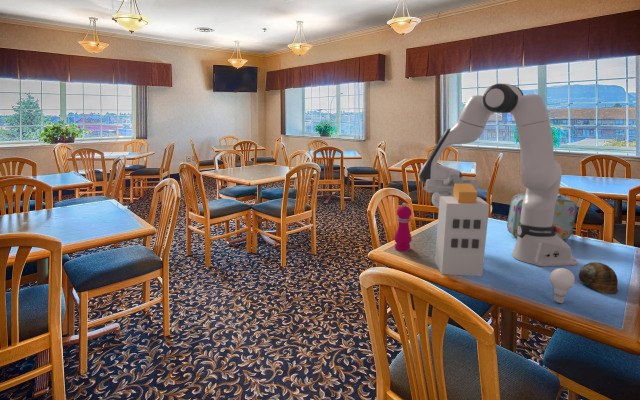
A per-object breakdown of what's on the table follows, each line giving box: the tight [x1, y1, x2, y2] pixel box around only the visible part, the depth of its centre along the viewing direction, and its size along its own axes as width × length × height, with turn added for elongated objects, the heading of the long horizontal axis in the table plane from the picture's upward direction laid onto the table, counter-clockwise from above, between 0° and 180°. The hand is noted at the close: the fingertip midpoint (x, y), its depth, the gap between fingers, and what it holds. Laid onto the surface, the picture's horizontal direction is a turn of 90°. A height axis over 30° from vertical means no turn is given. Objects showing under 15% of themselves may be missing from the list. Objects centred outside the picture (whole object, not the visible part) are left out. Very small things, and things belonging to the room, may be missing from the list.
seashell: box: [578, 261, 619, 295], centre depth 127 cm, size 11×9×8 cm
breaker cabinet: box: [434, 196, 490, 277], centre depth 139 cm, size 14×13×26 cm
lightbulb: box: [549, 267, 576, 304], centre depth 116 cm, size 6×6×11 cm
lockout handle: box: [450, 174, 479, 203], centre depth 142 cm, size 6×22×4 cm, turn 175°
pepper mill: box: [393, 202, 412, 252], centre depth 161 cm, size 7×7×20 cm
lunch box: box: [506, 192, 577, 242], centre depth 175 cm, size 27×10×21 cm, turn 85°
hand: (455, 179), depth 148 cm, fingers closed on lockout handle, 2 cm apart
